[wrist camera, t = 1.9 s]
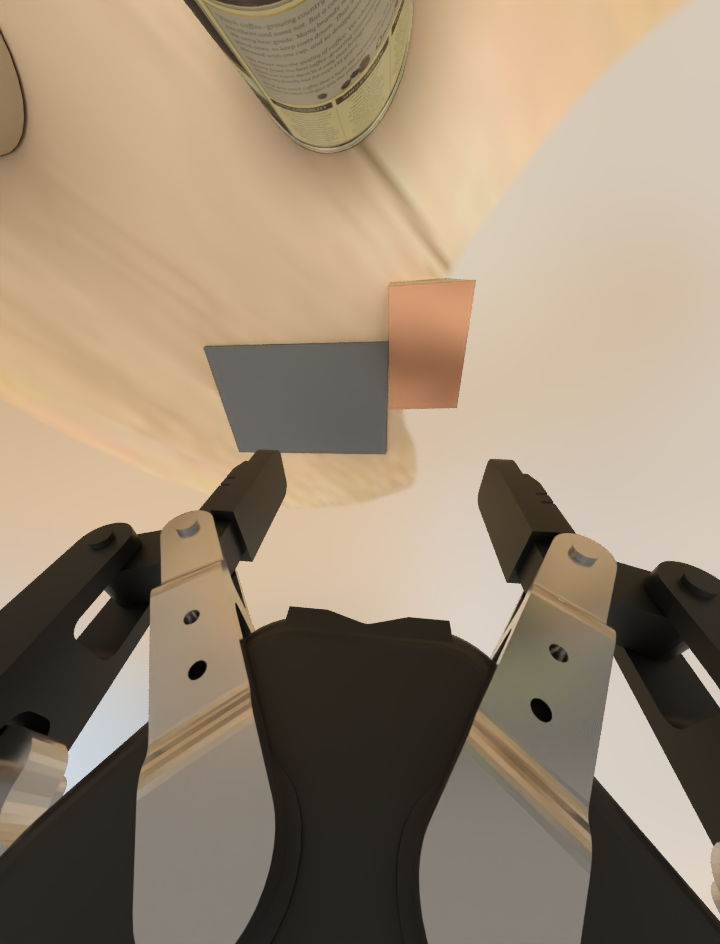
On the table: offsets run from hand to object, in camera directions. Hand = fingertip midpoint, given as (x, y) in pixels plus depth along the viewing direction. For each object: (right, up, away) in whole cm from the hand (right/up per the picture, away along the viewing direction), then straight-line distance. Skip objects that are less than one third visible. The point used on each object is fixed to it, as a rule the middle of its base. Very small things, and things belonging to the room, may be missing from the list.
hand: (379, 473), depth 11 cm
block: (+4, +13, +14) cm, 19 cm away
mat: (-7, +7, +19) cm, 21 cm away
